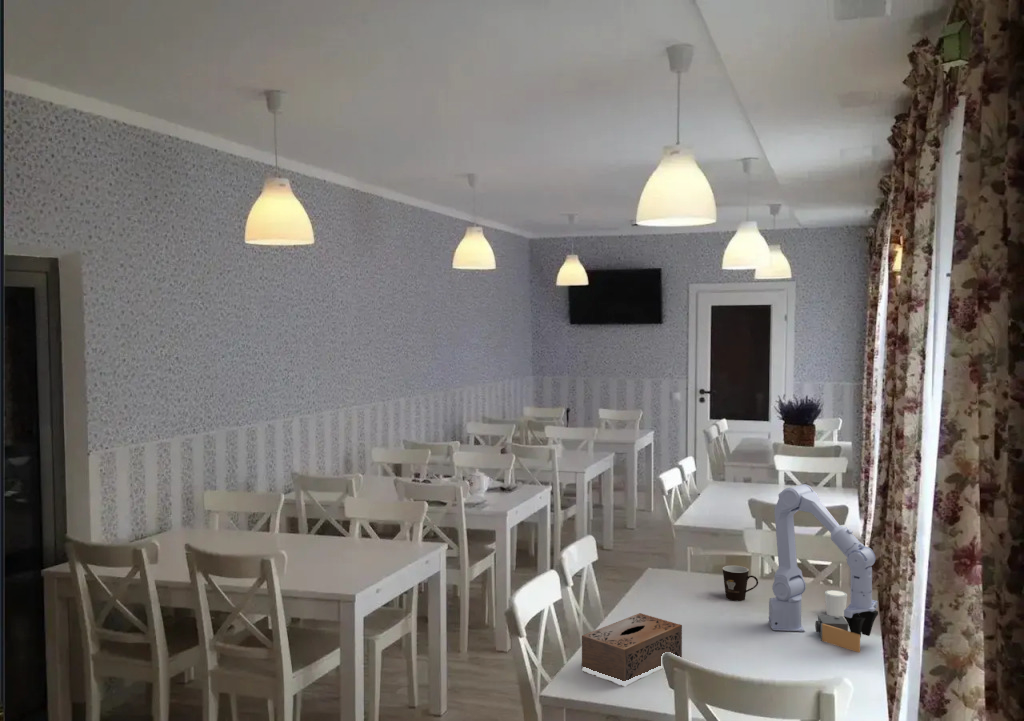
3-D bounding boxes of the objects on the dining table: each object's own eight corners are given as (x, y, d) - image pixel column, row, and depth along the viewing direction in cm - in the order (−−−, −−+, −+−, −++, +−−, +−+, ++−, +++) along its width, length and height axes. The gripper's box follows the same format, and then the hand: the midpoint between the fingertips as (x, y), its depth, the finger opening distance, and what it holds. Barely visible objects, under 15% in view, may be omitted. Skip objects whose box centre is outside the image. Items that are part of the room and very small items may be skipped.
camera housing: (818, 639, 256) (819, 621, 256) (813, 631, 263) (814, 613, 263) (847, 641, 255) (848, 622, 255) (842, 632, 262) (842, 614, 262)
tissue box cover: (639, 647, 252) (639, 613, 252) (681, 660, 242) (681, 625, 241) (581, 672, 234) (581, 635, 234) (624, 688, 224) (624, 649, 223)
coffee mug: (717, 596, 298) (717, 567, 297) (737, 592, 301) (737, 564, 301) (739, 606, 287) (739, 576, 287) (760, 602, 291) (760, 572, 291)
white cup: (843, 611, 282) (843, 589, 281) (849, 618, 275) (850, 596, 275) (821, 610, 282) (822, 589, 282) (827, 617, 276) (827, 595, 275)
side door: (820, 640, 256) (820, 623, 256) (821, 639, 256) (821, 623, 256) (858, 652, 246) (858, 635, 246) (860, 651, 247) (860, 634, 246)
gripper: (860, 598, 242) (860, 646, 242) (887, 588, 251) (887, 635, 251) (837, 592, 247) (837, 639, 248) (864, 583, 256) (864, 628, 257)
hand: (860, 636), depth 250 cm, fingers open, 5 cm apart
